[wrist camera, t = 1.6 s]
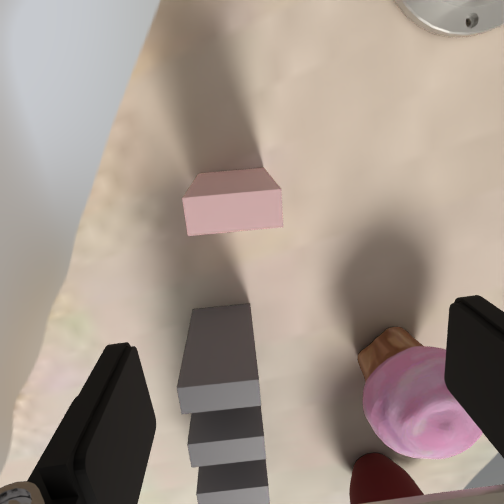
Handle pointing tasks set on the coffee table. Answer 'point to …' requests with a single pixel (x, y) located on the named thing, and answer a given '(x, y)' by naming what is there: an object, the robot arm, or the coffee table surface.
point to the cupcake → (413, 398)
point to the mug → (380, 480)
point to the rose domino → (232, 202)
